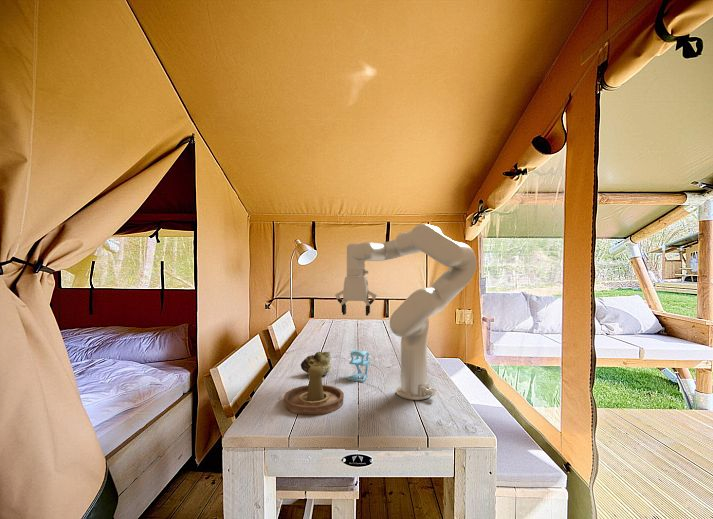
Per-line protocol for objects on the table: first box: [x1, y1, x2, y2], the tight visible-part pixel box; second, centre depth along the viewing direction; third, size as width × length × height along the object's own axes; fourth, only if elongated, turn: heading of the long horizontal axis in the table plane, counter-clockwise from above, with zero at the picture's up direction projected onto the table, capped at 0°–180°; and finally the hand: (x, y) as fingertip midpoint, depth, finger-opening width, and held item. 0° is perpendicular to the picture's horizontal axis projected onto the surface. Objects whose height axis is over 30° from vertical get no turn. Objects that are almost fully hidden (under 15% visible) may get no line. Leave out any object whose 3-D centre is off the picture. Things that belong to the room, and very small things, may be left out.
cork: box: [307, 366, 324, 402], centre depth 114 cm, size 6×6×11 cm
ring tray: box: [283, 384, 344, 416], centre depth 114 cm, size 20×20×2 cm
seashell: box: [300, 351, 332, 376], centre depth 143 cm, size 11×11×10 cm
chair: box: [346, 349, 371, 383], centre depth 139 cm, size 8×8×12 cm
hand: (355, 314), depth 137 cm, fingers open, 9 cm apart
